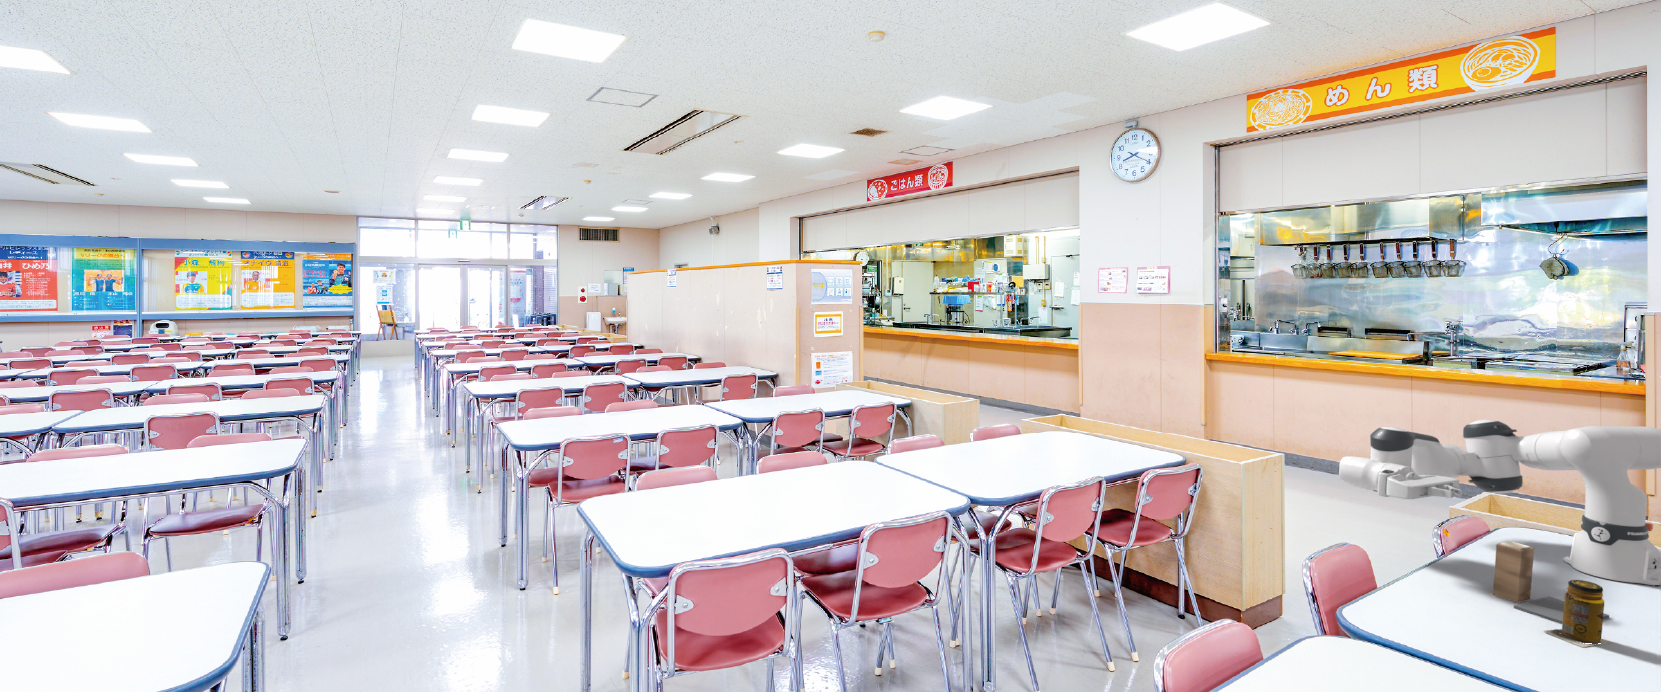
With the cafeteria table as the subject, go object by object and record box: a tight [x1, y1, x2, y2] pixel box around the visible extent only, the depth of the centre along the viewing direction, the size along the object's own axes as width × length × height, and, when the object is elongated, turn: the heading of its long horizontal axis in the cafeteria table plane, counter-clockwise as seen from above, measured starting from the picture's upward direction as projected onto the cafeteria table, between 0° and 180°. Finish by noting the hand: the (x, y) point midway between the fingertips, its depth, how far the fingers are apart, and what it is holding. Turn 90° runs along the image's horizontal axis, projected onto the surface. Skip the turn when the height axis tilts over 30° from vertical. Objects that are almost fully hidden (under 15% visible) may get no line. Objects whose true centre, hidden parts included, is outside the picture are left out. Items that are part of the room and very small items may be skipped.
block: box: [1492, 540, 1535, 604], centre depth 183 cm, size 5×5×13 cm
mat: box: [1513, 596, 1610, 625], centre depth 174 cm, size 14×11×1 cm
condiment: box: [1543, 579, 1613, 648], centre depth 162 cm, size 7×8×12 cm
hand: (1456, 494), depth 193 cm, fingers closed
